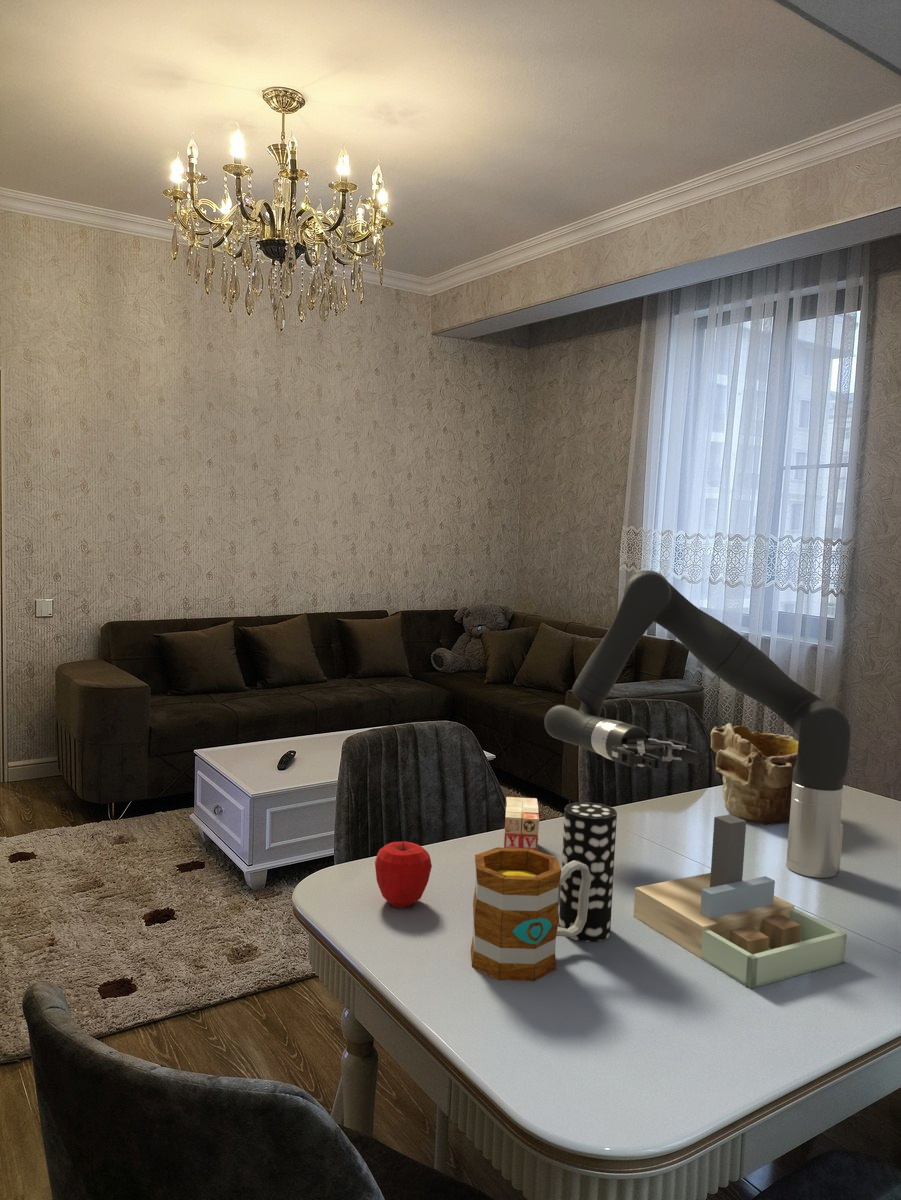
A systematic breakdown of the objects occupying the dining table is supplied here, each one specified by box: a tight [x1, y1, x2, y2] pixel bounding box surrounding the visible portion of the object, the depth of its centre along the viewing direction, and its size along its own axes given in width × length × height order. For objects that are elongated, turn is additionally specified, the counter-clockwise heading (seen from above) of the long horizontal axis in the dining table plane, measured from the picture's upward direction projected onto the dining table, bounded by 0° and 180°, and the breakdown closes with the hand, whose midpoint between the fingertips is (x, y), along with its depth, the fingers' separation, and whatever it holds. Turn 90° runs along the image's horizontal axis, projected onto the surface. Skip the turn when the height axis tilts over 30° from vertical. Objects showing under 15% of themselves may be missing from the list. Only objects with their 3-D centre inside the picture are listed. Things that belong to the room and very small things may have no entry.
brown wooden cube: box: [729, 926, 769, 955], centre depth 136 cm, size 4×4×4 cm
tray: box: [700, 907, 848, 990], centre depth 137 cm, size 20×10×4 cm, turn 118°
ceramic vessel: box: [710, 722, 798, 826], centre depth 206 cm, size 23×24×25 cm
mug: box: [470, 846, 591, 982], centre depth 134 cm, size 20×14×15 cm
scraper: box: [700, 814, 776, 919], centre depth 144 cm, size 14×6×14 cm, turn 118°
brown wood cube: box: [762, 915, 801, 949], centre depth 141 cm, size 4×4×4 cm
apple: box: [374, 841, 433, 909], centre depth 152 cm, size 10×10×11 cm
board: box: [633, 872, 795, 959], centre depth 148 cm, size 20×16×5 cm
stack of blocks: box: [503, 796, 540, 851], centre depth 174 cm, size 21×6×12 cm, turn 175°
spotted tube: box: [558, 801, 618, 943], centre depth 144 cm, size 8×8×20 cm
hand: (679, 761), depth 155 cm, fingers open, 8 cm apart
